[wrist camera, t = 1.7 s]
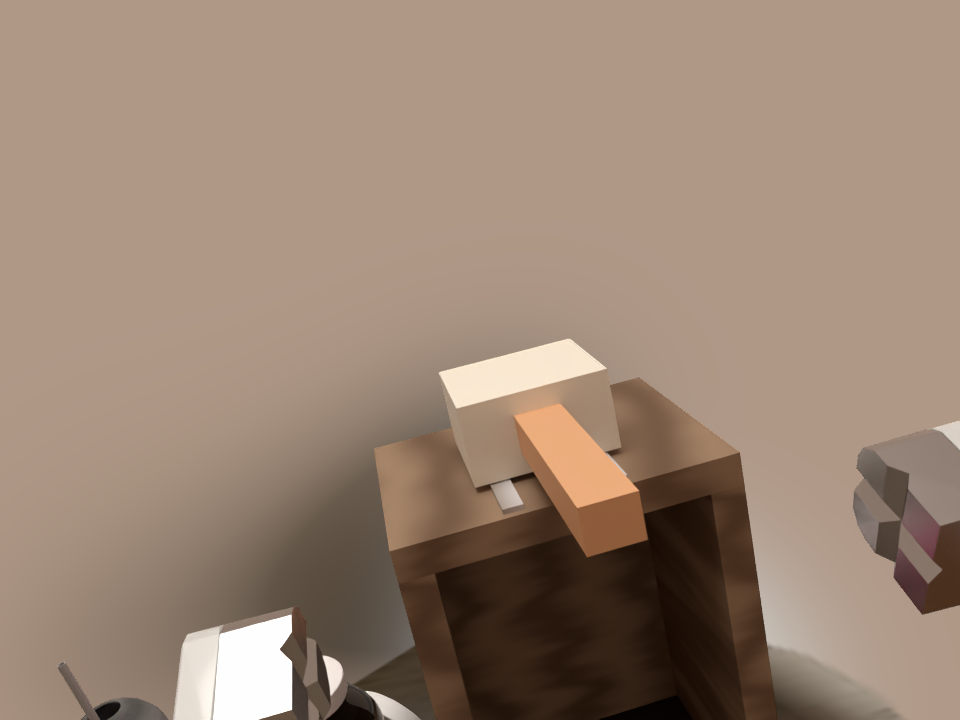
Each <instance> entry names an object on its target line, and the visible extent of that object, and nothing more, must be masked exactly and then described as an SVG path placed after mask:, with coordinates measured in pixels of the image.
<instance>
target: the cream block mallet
mask: <svg viewBox="0 0 960 720" xmlns="http://www.w3.org/2000/svg"><path fill="white" fill-rule="evenodd" d="M439 375H440V380H441V384H442V388H443V392H444V396H445V400H446V405H447V409H448V413H449V417H450V421H451V425H452V429H453V433H454V438H455V442H456V444H457V446H458V449H459V451H460V453H461V456H462V458H463V460H464V463H465V465H466V467H467V470H468V472H469V474H470V477H471V479H472V481H473V484H474V486H475V488H477V487H480V486H484V485H488V484H491V483H495V482H498V481H502V480H506V479H509V478H513V477H517V476H520V475H524V474H527V473H531V472H534V474H535V475H536V477H537V478H538V480H539V482H540V483H541V485H542V486H543V488H544V489H545V491H546V493H547V494H548V496H549V497H550V499H551V501H552V502H553V504H554V505H555V507H556V509H557V510H558V512H559V513H560V515H561V516H562V518H563V520H564V521H565V523H566V524H567V526H568V528H569V529H570V531H571V532H572V534H573V536H574V537H575V539H576V540H577V542H578V543H579V545H580V547H581V548H582V550H583V551H584V553H585V555H586V556H587V557H590V556H593V555H597V554H600V553H604V552H607V551H611V550H614V549H617V548H621V547H624V546H628V545H631V544H635V543H638V542H642V541H645V540H648V538H647V532H646V527H645V521H644V516H643V510H642V505H641V499H640V493H639V490H638V489H637V488H636V487H635V486H634V485H633V483H632V482H631V481H630V480H629V479H628V478H627V477H626V476H625V475H624V473H623V472H622V471H621V470H620V469H619V468H618V467H617V466H616V465H615V463H614V462H613V461H612V460H611V459H610V458H609V457H608V456H607V455H606V454H605V452H607V451H610V450H614V449H618V448H621V442H620V437H619V431H618V426H617V420H616V415H615V409H614V404H613V398H612V393H611V388H610V382H609V377H608V371H607V368H606V367H604V366H603V365H602V364H600V363H599V362H598V361H597V360H596V359H594V358H593V357H592V356H590V355H589V354H588V353H587V352H586V351H584V350H583V349H582V348H581V347H579V346H578V345H577V344H575V343H574V342H573V341H572V340H571V339H566V340H562V341H558V342H554V343H550V344H547V345H542V346H539V347H535V348H531V349H527V350H523V351H520V352H516V353H512V354H508V355H504V356H500V357H496V358H492V359H489V360H485V361H481V362H477V363H474V364H469V365H466V366H462V367H458V368H454V369H450V370H446V371H442V372H439Z"/></svg>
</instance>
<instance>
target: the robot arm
mask: <svg viewBox="0 0 960 720" xmlns="http://www.w3.org/2000/svg"><path fill="white" fill-rule="evenodd" d="M857 469H858V471H859V472H860V473H861V474H862V475H863V477H864V479H863V480H862V481H861V482H860V484H859V485H858V486H857V487H856V489H855V490H854V501H853V509H854V513H855V516H856V520H857V524H858V526H859V528H860V530H861V532H862V534H863V536H864V538H865V540H866V541H867V543H868V544H869V545H870V547H871V548H872V549H873V551H874V552H875V553H876V554H878V555H881V556H883V557H885V558H887V559H889V560H891V561H893V562H895V567H894V578H895V580H896V581H897V582H898V584H899V585H900V586H901V588H902V589H903V590H904V592H905V593H906V594H907V596H908V597H909V598H910V599H911V600H912V602H913V603H914V605H915V606H916V607H917V609H918V610H919V611H920V612H921V614H922V615H923V614H927V613H931V612H935V611H939V610H943V609H947V608H950V607H955V606H958V605H960V421H957V422H953V423H950V424H946V425H942V426H939V427H935V428H932V429H930V430H923V431H919V432H916V433H912V434H909V435H906V436H902V437H899V438H895V439H892V440H889V441H885V442H882V443H879V444H875V445H871V446H868V447H864V448H863V449H862V450H861V452H860V453H859V455H858V460H857ZM330 708H331V698H330V686H329V681H328V675H327V670H326V665H325V662H324V659H323V656H322V653H321V651H320V649H319V646H318V644H317V642H316V641H315V640H313V639H310V638H307V636H306V621H305V619H304V617H303V615H302V614H301V612H300V610H299V608H298V607H292V608H288V609H284V610H280V611H276V612H272V613H268V614H264V615H260V616H256V617H252V618H248V619H244V620H240V621H236V622H232V623H228V624H224V625H221V626H218V627H214V628H210V629H206V630H202V631H198V632H195V633H191V634H188V635H187V637H186V639H185V641H184V643H183V645H182V650H181V658H180V666H179V675H178V683H177V691H176V700H175V708H174V716H173V720H324V719H325V717H326V715H327V714H328V712H329V710H330Z"/></svg>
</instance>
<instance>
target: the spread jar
mask: <svg viewBox="0 0 960 720" xmlns="http://www.w3.org/2000/svg"><path fill="white" fill-rule="evenodd" d="M323 659H324V662H325V665H326V670H327V675H328V681H329V686H330V698H331V708H330V710H329V712H328V714H327V715H326V717H325V719H324V720H420V719H419V718H418V717H417V716H416V715H415V714H414V713H412V712H411V711H410V710H408V709H407V708H405V707H404V706H402V705H401V704H399V703H397V702H396V701H394V700H392V699H390V698H388V697H386V696H383V695H381V694H378V693H375V692H370V691H364V690H362V689H360V688H358V687H357V686H355V685H352V684H350V683H348V682H346V679H345V675H344V672H343V669H342V666H341V664H340V663H339V662H338V661H336V660H335V659H333V658H331V657H328V656H323Z"/></svg>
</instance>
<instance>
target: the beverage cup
mask: <svg viewBox="0 0 960 720" xmlns="http://www.w3.org/2000/svg"><path fill="white" fill-rule="evenodd" d="M57 667H58V669H59V671H60V672H61V674H62V676H63V677H64V679H65V681H66V682H67V684H68V685H69V687H70V689H71V690H72V692H73V694H74V695H75V697H76V699H77V700H78V702H79V704H80V705H81V707H82V708H83V710H84V712H85V714H86V715H85V716H84V717H83V718H82V719H81V720H168V719H167V717H166V716H165V715H164V713H163V712H162V711H161V710H160V709H159V708H158V707H156V706H155V705H153V704H151V703H149V702H146V701H144V700H140V699H137V698H119V699H113V700H110V701H107V702H104V703H102V704H100V705H98V706H97V707H95V708H93V707H92V706H91V704H90V702H89V700H88V699H87V697H86V695H85V694H84V692H83V690H82V689H81V687H80V686H79V684H78V682H77V681H76V679H75V677H74V676H73V674H72V672H71V671H70V669H69V667H68V666H67V664H66V663H65V662H61V663H60V664H59V665H58V666H57Z"/></svg>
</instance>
